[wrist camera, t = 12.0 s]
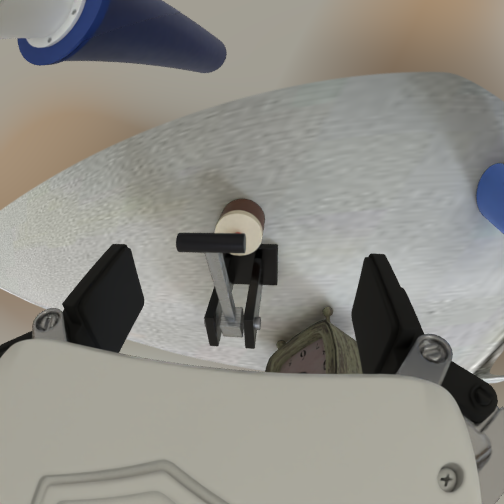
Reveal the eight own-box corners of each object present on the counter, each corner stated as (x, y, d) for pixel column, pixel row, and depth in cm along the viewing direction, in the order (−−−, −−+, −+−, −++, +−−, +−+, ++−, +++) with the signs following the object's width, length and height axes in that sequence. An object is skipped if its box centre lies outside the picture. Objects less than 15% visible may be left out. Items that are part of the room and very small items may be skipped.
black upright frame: (212, 243, 41) (183, 310, 29) (277, 244, 40) (273, 315, 28) (216, 278, 44) (193, 348, 32) (277, 280, 43) (272, 354, 31)
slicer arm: (180, 224, 22) (172, 248, 20) (245, 224, 21) (242, 249, 20) (214, 317, 34) (211, 335, 32) (257, 319, 33) (255, 338, 31)
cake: (220, 198, 37) (210, 217, 32) (264, 198, 36) (261, 217, 32) (223, 237, 40) (215, 260, 35) (265, 238, 39) (262, 261, 34)
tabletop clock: (328, 294, 43) (346, 454, 22) (363, 322, 46) (390, 463, 24) (266, 341, 50) (252, 478, 29) (302, 362, 52) (301, 488, 31)
